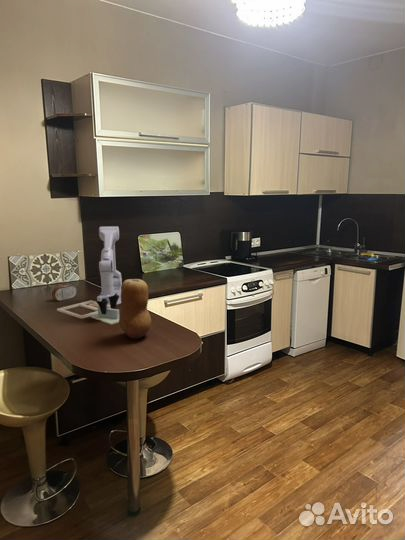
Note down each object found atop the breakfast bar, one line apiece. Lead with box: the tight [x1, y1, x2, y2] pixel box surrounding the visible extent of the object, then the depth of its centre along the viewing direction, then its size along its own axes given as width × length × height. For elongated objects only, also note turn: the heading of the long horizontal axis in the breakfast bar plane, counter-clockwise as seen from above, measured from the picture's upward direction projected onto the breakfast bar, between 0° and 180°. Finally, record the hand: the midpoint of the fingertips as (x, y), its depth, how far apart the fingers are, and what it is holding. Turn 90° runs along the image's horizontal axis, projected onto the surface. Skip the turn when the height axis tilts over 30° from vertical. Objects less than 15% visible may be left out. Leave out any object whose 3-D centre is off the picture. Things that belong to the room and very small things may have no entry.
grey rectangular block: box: [97, 307, 120, 319], centre depth 194 cm, size 2×11×4 cm, turn 68°
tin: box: [51, 283, 78, 302], centre depth 228 cm, size 15×3×8 cm, turn 141°
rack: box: [56, 299, 111, 319], centre depth 208 cm, size 21×21×2 cm
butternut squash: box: [118, 278, 152, 340], centre depth 167 cm, size 14×13×25 cm
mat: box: [90, 314, 119, 325], centre depth 194 cm, size 10×16×1 cm, turn 51°
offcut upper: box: [88, 303, 99, 308], centre depth 212 cm, size 4×10×1 cm, turn 51°
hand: (108, 311), depth 194 cm, fingers open, 7 cm apart
